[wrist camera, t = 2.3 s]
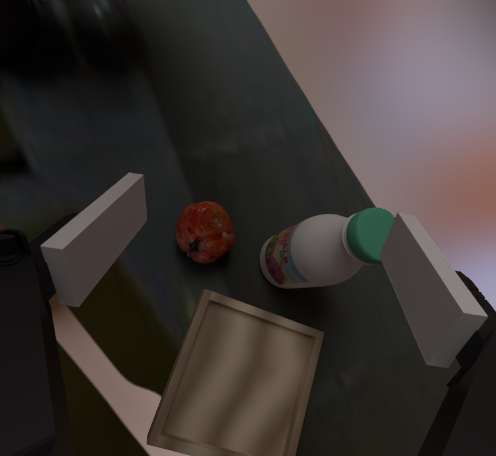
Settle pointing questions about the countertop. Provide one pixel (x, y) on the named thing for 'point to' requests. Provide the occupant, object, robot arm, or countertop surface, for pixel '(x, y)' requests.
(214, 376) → the wood tray
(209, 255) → the pomegranate
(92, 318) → the countertop surface
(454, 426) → the robot arm
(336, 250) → the milk bottle
